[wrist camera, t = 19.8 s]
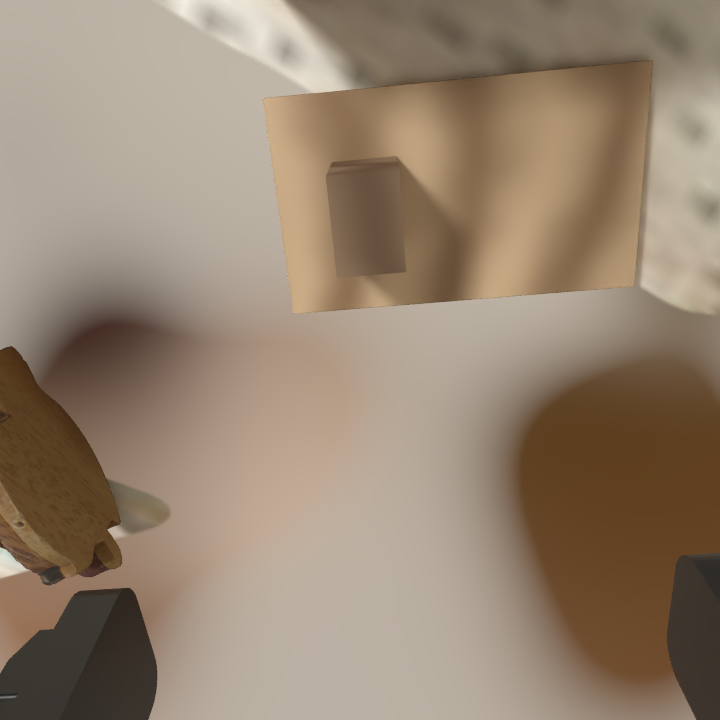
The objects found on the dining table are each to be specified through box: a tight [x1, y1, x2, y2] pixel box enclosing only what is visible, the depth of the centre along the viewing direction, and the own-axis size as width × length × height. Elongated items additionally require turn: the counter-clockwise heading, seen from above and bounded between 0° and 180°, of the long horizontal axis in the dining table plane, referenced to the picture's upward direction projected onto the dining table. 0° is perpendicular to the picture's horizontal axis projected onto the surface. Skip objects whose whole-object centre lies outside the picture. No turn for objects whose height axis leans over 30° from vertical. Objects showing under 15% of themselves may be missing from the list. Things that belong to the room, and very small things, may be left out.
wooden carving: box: [0, 346, 122, 585], centre depth 39 cm, size 16×5×10 cm, turn 27°
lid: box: [263, 60, 653, 314], centre depth 35 cm, size 20×12×6 cm, turn 95°
